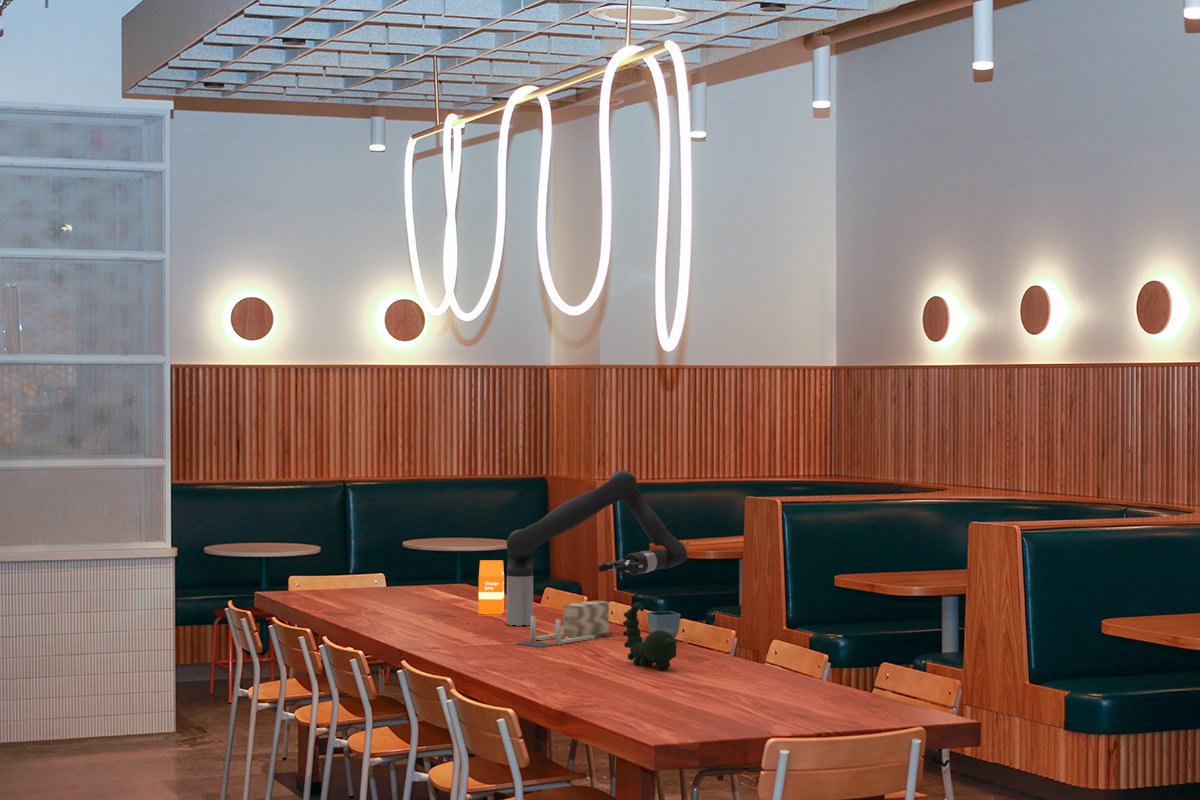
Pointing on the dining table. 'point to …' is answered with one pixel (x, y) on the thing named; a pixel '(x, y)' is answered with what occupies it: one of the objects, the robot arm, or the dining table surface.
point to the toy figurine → (648, 642)
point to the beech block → (586, 618)
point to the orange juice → (491, 587)
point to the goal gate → (557, 635)
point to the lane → (603, 634)
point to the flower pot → (664, 622)
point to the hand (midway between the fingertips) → (607, 569)
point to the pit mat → (535, 644)
